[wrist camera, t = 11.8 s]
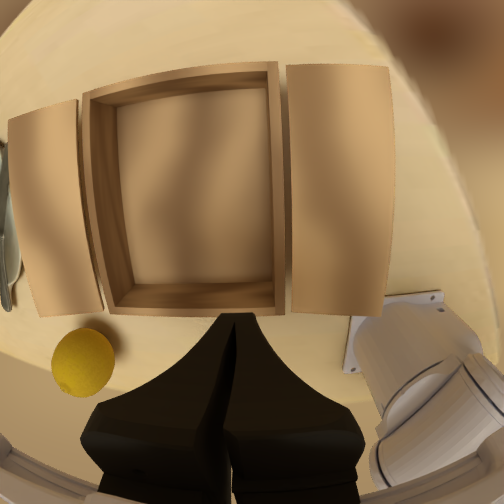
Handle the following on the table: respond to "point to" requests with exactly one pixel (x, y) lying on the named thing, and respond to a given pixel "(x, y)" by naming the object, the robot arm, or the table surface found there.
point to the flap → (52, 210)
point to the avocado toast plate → (7, 236)
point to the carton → (188, 191)
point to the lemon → (83, 362)
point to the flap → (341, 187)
